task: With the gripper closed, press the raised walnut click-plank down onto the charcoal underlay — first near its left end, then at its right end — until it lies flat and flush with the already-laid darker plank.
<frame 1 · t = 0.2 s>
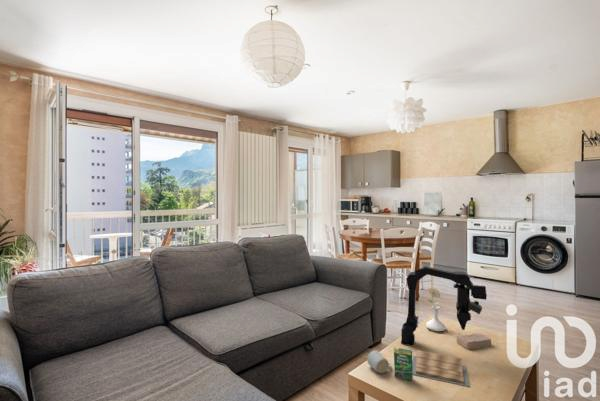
hand: (462, 326, 163), 14 cm above the table, fingers open, 9 cm apart
flower in vase: (434, 328, 192), on the table
underlay: (438, 370, 148), on the table
laid board: (438, 375, 144), resting on underlay
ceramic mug: (380, 369, 150), on the table
brick: (473, 345, 172), on the table
coffee box: (403, 378, 143), on the table
click plank: (438, 361, 150), point 3 cm above the table, hinge at 28.0°
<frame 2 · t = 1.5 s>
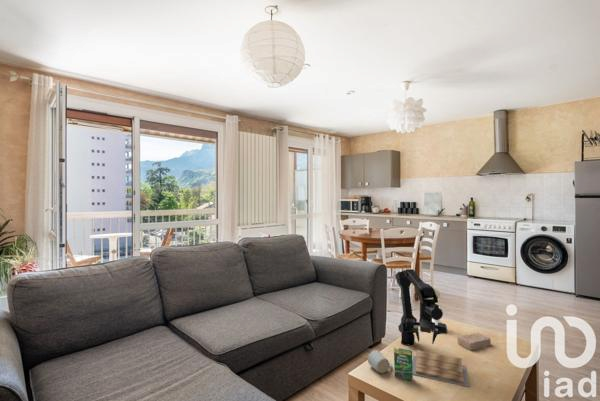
hand: (425, 342, 155), 10 cm above the table, fingers open, 6 cm apart
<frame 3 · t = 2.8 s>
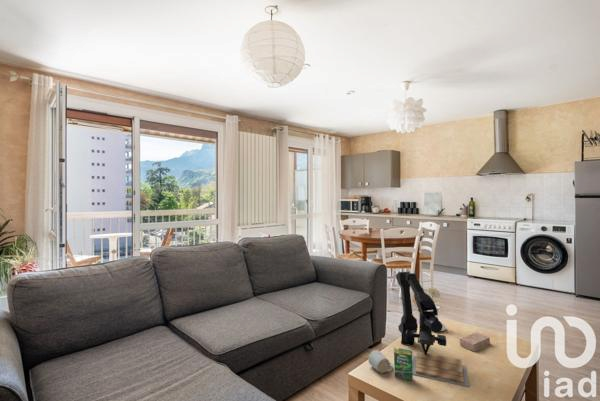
hand: (425, 354, 155), 4 cm above the table, fingers closed, pressing on click plank
click plank: (438, 362, 150), point 2 cm above the table, hinge at 22.2°, touching gripper
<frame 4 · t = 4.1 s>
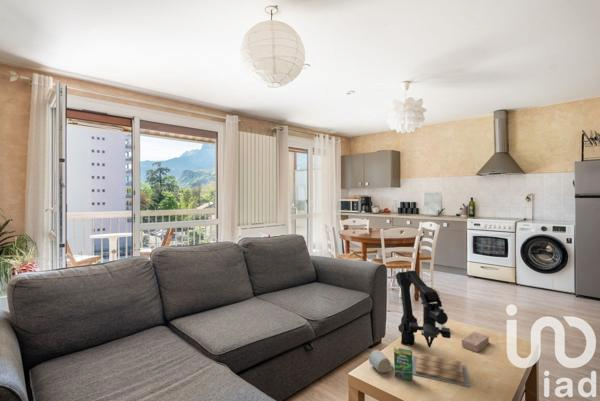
hand: (429, 347, 154), 8 cm above the table, fingers closed
click plank: (438, 363, 151), point 2 cm above the table, hinge at 10.9°
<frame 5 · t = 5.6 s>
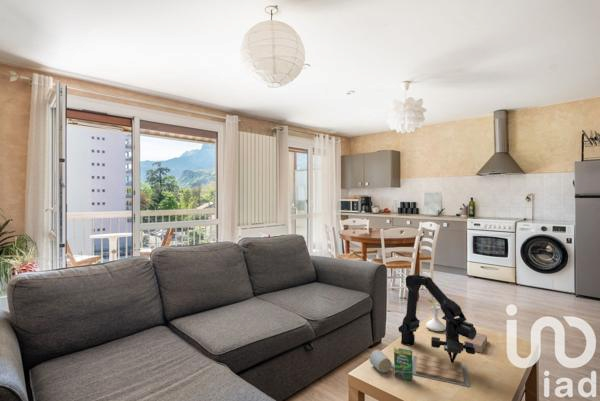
hand: (452, 362, 150), 2 cm above the table, fingers closed, pressing on click plank
click plank: (438, 363, 151), point 2 cm above the table, hinge at 9.8°, touching gripper
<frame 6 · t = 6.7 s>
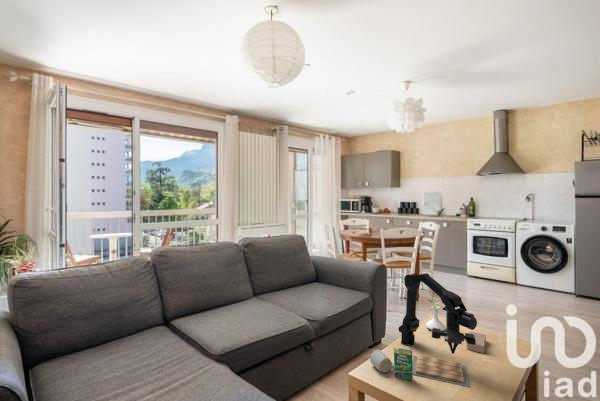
hand: (452, 353, 150), 7 cm above the table, fingers closed
click plank: (438, 364, 151), point 1 cm above the table, hinge at 5.1°
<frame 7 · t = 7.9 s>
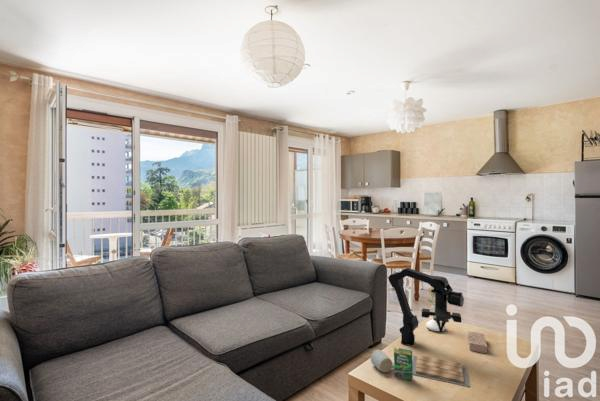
hand: (440, 331, 162), 12 cm above the table, fingers closed
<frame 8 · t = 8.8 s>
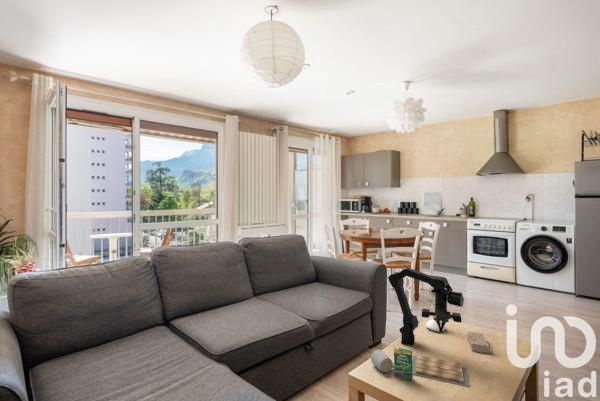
hand: (440, 331, 162), 12 cm above the table, fingers closed
at the end: click plank at +5° (first picture: +28°); click plank touching nothing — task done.
